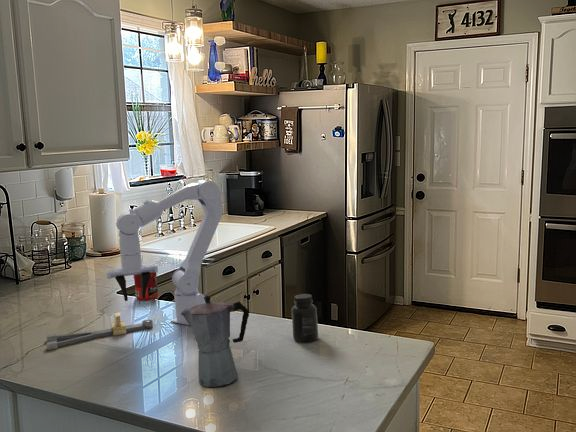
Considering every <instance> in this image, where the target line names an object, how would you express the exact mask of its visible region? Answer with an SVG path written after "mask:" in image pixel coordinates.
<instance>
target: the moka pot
mask: <svg viewBox="0 0 576 432" xmlns="http://www.w3.org/2000/svg"><path fill="white" fill-rule="evenodd" d="M204 296H205V297H204V300H205V303H203V304H199V305H196V306H194V307H191V308H188V309H185V310H184V311H182V312H181V315H183V316H184V317H185V319H186V321H187V322H188V324H189V325H188V326H189V327H190V328H191V330H192V333H193V334H192V335H193V337H194V340H195V342H196V344H197V349H198V355H197V356H198V382H199V384H200V385H201V386H202V387H206V388H216V387H217V388H218V387H223V386H227V385H229V384H231V383H233V382H234V381H235V380H237V378H238V376H239V375H238V371H237V367H236V364H235V363H236V362H235V361H234V357H233V353H232V350H231V347H230V344H231V340H230V337H231V313H234V312H237V311H242V313H243V314H242V317H241V319H242V320H241V324H240V332H239V334H238V337H237V338H233V339H232V342H233V343H242V342H243V341H244V339H245V334H246V329H247V324H248V319H249V317H250V310H249V309H248V308H247V307H246V306H245V305H243V303H242V302H241V301H236V302H234V303H233V302H229V303H226V302H224V301H222V302H221V301H220V302H216V301H211V295H204Z"/></svg>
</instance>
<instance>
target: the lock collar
mask: <svg viewBox="0 0 576 432" xmlns="http://www.w3.org/2000/svg"><path fill="white" fill-rule="evenodd" d="M126 326H127V325H126V323H125V322H124V320H121V315H120V313H119V312H114V322H110V327H111V328H112V330H113V335H112V336H113V337H115V336H120V335H124V334H125V335H126V334H127V333H126ZM111 328H110V329H111Z"/></svg>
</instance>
